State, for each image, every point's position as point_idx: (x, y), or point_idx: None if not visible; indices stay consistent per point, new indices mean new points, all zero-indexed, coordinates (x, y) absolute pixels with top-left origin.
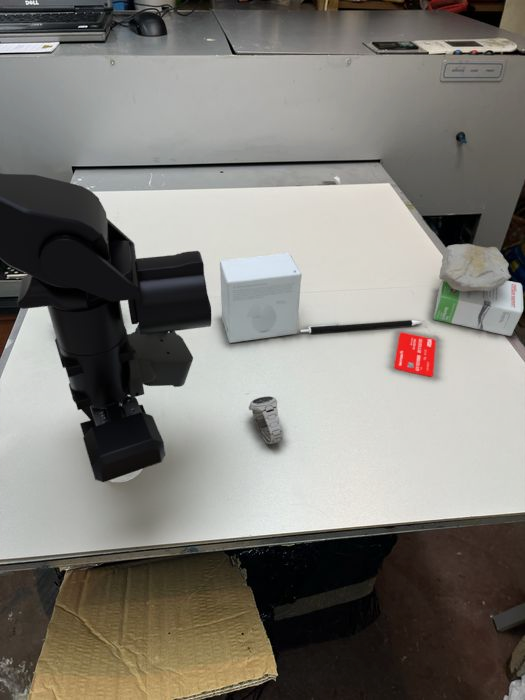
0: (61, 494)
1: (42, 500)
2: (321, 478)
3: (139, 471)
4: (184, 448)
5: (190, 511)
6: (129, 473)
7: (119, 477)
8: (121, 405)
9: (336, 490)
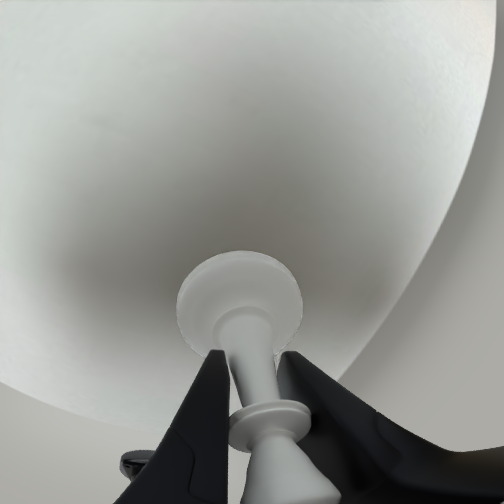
0: None
1: None
2: (444, 4)
3: (295, 282)
4: (256, 119)
5: (407, 208)
6: (300, 316)
7: (292, 337)
8: (223, 481)
9: (462, 13)
